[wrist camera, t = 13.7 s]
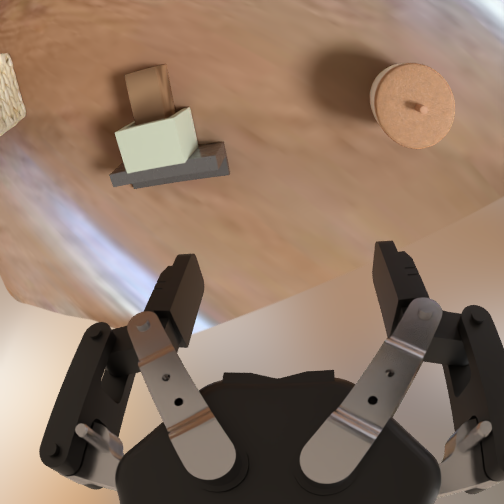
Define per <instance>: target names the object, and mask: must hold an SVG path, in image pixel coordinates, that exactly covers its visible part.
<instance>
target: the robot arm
mask: <svg viewBox="0 0 504 504" xmlns="http://www.w3.org/2000/svg"><path fill="white" fill-rule="evenodd" d="M372 272H373V273H372V274H373V283H374V286H375V290H376V293H377V297H378V301H379V305H380V309H381V312H382V316H383V320H384V324H385V328H386V332H387V337H388V338H387V339H386V340H385V341H384V343H383V344H382V346H381V348H380V349H379V351H378V352H377V354H376V355H375V357H374V358H373V360H372V362H371V363H370V364H369V366H368V367H367V369H366V370H365V372H364V373H363V375H362V376H361V377H360V379H359V380H358V382H357V383H356V385H355V384H354V383H352V382H349V381H347V380H343V379H340V378H335V377H334V370H324V371H307V372H303V373H299V374H295V375H291V376H287V377H283V378H278V379H276V378H271V377H267V376H262V375H257V374H253V373H224V375H223V380H221V381H217V382H214V383H212V384H209V385H207V386H205V387H203V388H202V389H200V390H199V391H198V389H197V388H196V386H195V384H194V382H193V381H192V379H191V377H190V375H189V374H188V372H187V370H186V369H185V367H184V365H183V363H182V361H181V360H180V358H179V356H178V354H177V351H178V348H179V347H184V348H187V347H188V345H189V341H190V338H191V334H192V331H193V327H194V324H195V320H196V317H197V313H198V310H199V307H200V303H201V300H202V296H203V293H204V280H203V277H202V274H201V271H200V267H199V264H198V261H197V258H196V256H195V254H181V255H177V257H176V259H175V261H174V264H173V266H168V267H167V268H166V269H165V270H164V271H163V272H162V273H161V274H160V277H159V279H158V281H157V283H156V285H155V287H154V290H153V292H152V294H151V296H150V298H149V301H148V303H147V305H146V307H145V310H144V312H141V313H138V314H136V315H135V316H133V317H132V318H131V320H130V321H129V323H128V325H127V326H125V327H121V328H116V329H111V328H110V326H109V325H108V324H107V323H104V322H99V323H95V324H93V325H92V326H90V327H89V328H88V329H87V330H86V332H85V333H84V335H83V338H82V340H81V342H80V344H79V346H78V349H77V351H76V353H75V355H74V358H73V360H72V362H71V365H70V367H69V370H68V372H67V374H66V377H65V379H64V382H63V384H62V387H61V389H60V392H59V394H58V397H57V399H56V402H55V405H54V408H53V410H52V413H51V416H50V419H49V421H48V424H47V427H46V430H45V433H44V436H43V439H42V442H41V446H40V451H39V452H40V458H41V460H42V462H43V463H44V464H45V465H46V466H48V467H50V468H51V469H53V470H55V471H57V472H58V473H59V474H61V475H63V476H65V477H66V478H69V479H70V480H73V481H74V482H76V483H78V484H82V485H85V486H87V487H89V488H91V489H101V488H103V487H104V488H108V489H111V490H115V491H117V492H118V495H119V500H120V504H434V503H435V500H436V499H437V498H439V497H443V496H447V495H451V494H455V493H459V492H463V491H465V492H466V493H469V494H476V493H479V492H481V491H483V490H485V489H487V488H490V487H492V486H494V485H496V484H498V483H500V482H502V481H503V480H504V348H503V345H502V343H501V340H500V338H499V335H498V332H497V330H496V327H495V325H494V322H493V320H492V318H491V316H490V314H489V313H488V311H486V310H485V309H484V308H482V307H480V306H477V305H470V306H467V307H466V308H465V309H464V310H463V312H462V314H459V313H451V312H446V311H443V310H442V308H441V307H440V305H439V304H438V303H437V302H436V301H434V300H432V299H430V298H429V296H428V293H427V291H426V289H425V286H424V284H423V282H422V279H421V277H420V275H419V273H418V270H417V268H416V266H415V264H414V262H413V259H412V258H411V257H410V256H409V255H408V254H407V253H406V252H405V251H402V252H398V251H397V249H396V247H395V244H394V242H393V241H379V242H376V243H375V251H374V261H373V271H372ZM423 361H425V362H431V363H438V364H442V366H443V369H444V374H445V379H446V384H447V389H448V394H449V398H450V404H451V410H452V416H453V422H454V429H455V432H454V434H452V435H451V436H450V438H449V439H448V440H447V442H446V444H445V451H444V457H443V460H442V462H441V463H440V464H438V462H437V460H436V459H435V457H434V456H433V455H432V454H431V453H430V452H429V451H428V450H427V449H425V448H424V447H423V446H422V445H421V444H420V443H419V442H418V441H417V440H416V439H415V438H414V437H412V436H411V435H410V434H409V433H408V432H407V431H406V430H405V429H404V428H403V427H402V426H401V425H400V424H399V423H398V422H397V421H396V420H394V419H393V418H392V417H393V416H394V414H395V412H396V411H397V409H398V407H399V405H400V404H401V402H402V400H403V398H404V397H405V395H406V393H407V391H408V389H409V388H410V386H411V384H412V382H413V380H414V378H415V376H416V374H417V372H418V370H419V368H420V366H421V364H422V363H423ZM104 370H105V372H104ZM138 372H141V373H142V375H143V378H144V380H145V383H146V385H147V387H148V390H149V392H150V394H151V396H152V399H153V401H154V403H155V405H156V407H157V410H158V411H159V414H160V416H161V418H162V420H163V422H162V423H161V424H160V425H159V426H158V427H157V428H155V429H154V430H153V431H152V432H151V433H150V434H148V435H147V436H146V437H145V438H144V439H143V440H141V441H140V442H139V443H138V444H137V445H135V446H134V447H133V448H132V449H130V450H129V451H128V452H127V453H126V454H125V455H124V453H123V444H122V442H121V440H120V439H119V438H118V437H119V433H120V428H121V425H122V421H123V416H124V413H125V409H126V406H127V402H128V398H129V395H130V391H131V388H132V384H133V381H134V377H135V374H136V373H138ZM103 373H104V375H103ZM102 376H103V378H102ZM101 379H102V380H101Z"/></svg>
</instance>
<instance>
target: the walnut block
mask: <svg viewBox="0 0 504 504" xmlns="http://www.w3.org/2000/svg"><path fill="white" fill-rule="evenodd" d="M124 76H125V81H126V85H127V90H128V95H129V99H130V104H131V108H132V112H133V117H134V121H135V125H136V126H137V125H140V124H144V123H148V122H153V121H157V120H161V119H165V118H169V117H171V116H172V115H174V114H175V113H176V112H175V107H174V101H173V96H172V91H171V86H170V81H169V75H168V70H167V65H166V64H165V65H160V66H155V67H151V68H147V69H143V70H140V71H136V72H133V73H129V74H126V75H124Z"/></svg>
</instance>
